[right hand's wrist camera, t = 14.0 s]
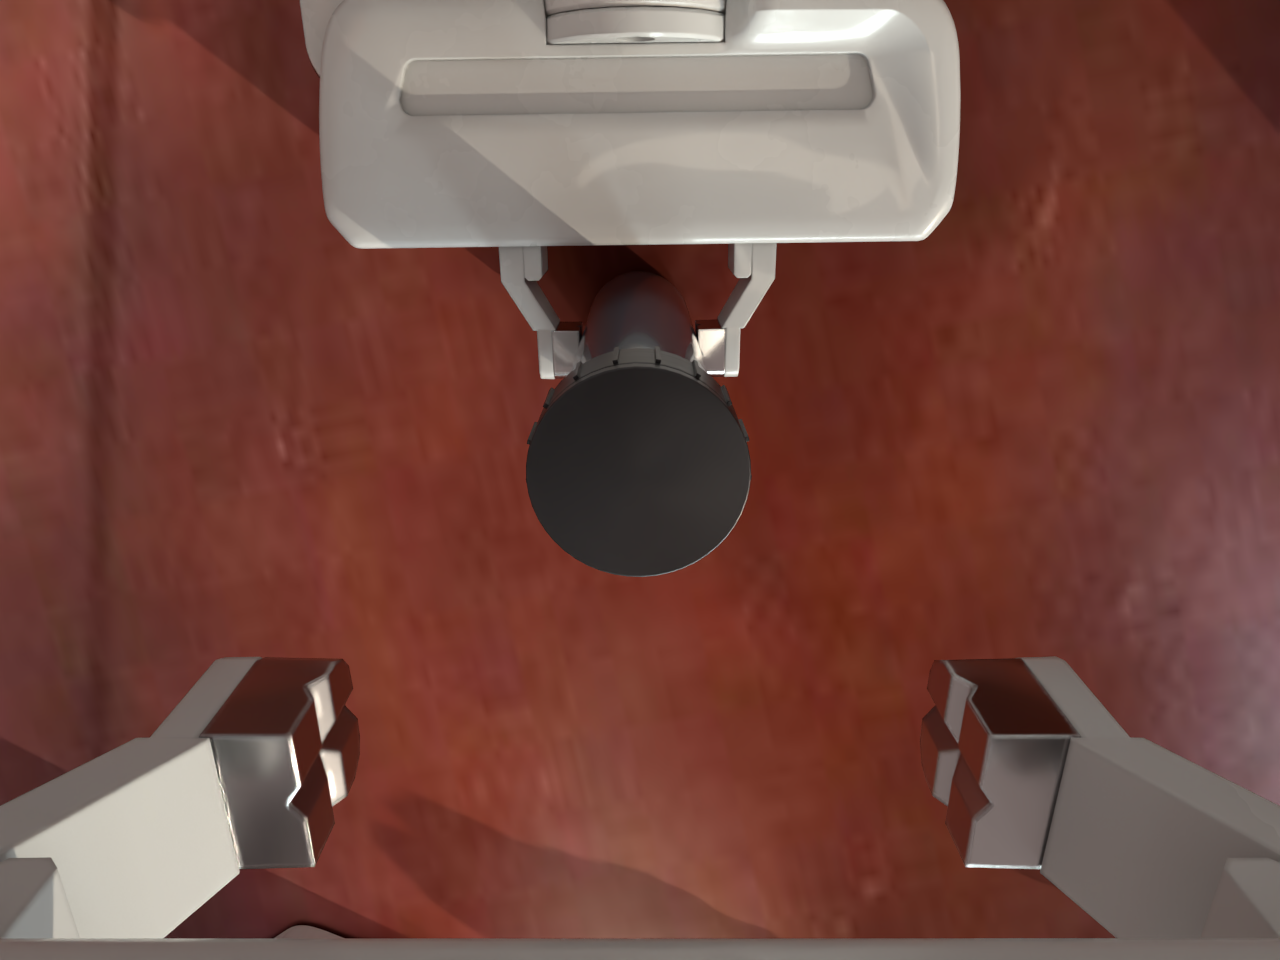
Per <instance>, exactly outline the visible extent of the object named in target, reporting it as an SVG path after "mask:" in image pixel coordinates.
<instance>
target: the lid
mask: <svg viewBox="0 0 1280 960" xmlns="http://www.w3.org/2000/svg"><path fill="white" fill-rule="evenodd" d="M543 407H544V408H543V411H542V413H541V415H540V418H539V420H538V422H535V423H534V425H533V428H532V431H531V433H530V436H529V438H528V441H527V444H530V446H529V450H528V455H527V463H526V483H527V487H528V493H529V497H530V500H531V503H532V507H533V509H534V511H535V513H536V515H537V518H538V520H539V521H540V523H541V524H542V526H543V527H544V529H545V531H546V532H547V533H548V534H549V535H550V537H551V538H552V539H553V540H554V541H555V542H556V543H557V544H558V545H559V546H560V547H561V548H562V549H563V550H564V551H566V552H567V553H568V554H570V555H571V556H573V557H574V558H575V559H577V560H579V561H581V562H582V563H584V564H586V565H588V566H590V567H593V568H595V569H598V570H600V571H604V572H608V573H611V574H616V575H622V576H634V577H645V576H656V575H661V574H666V573H670V572H673V571H676V570H679V569H682V568H684V567H687V566H689V565H691V564H693V563H695V562H697V561H698V560H700V559H701V558H703V557H705V556H706V555H708V554H709V553H710V552H711V551H712V550H714V549H715V548H716V547H717V546H718V545H719V544H720V543H721V542H722V541H723V540H724V539H725V538H726V537H727V536H728V534H729V533H730V532H731V530H732V529H733V528H734V526H735V525H736V523H737V521H738V519H739V517H740V516H741V514H742V511H743V509H744V506H745V504H746V501H747V497H748V493H749V488H750V480H751V464H750V455H749V450H748V445H747V443H746V442H747V441H749V437H748V435H747V432H746V429H745V427H744V424H743V422H742V419H740V420H738V418H737V415H736V412H735V410H734V408H733V406H732V402H731V400H730V397H729V394H728V391H727V389H726V387H725V386H724V385H723V386H722V387H721V386H720V385H719V384H718V383H717V382H716V381H715V380H714V379H713V378H712V377H711V376H710V375H709V374H708V373H707V372H705V371H704V370H703V369H702V368H700V367H699V365H698V362H697V361H696V360H693V361H692V362H691V361H689V360H687V359H685V358H682V357H680V356H678V355H675V354H672V353H669V352H666V351H661V350H660V347H658V346H655V349H649V348H630V349H621V350H619V347H614V351H612V352H608V353H605V354H602V355H599V356H597V357H594V358H592V359H590V360H588V361H587V362H585V363H582V362H581V361H580V362H578V363H577V365H576V369H574V370H573V371H571V372H570V373H569V374H568V375H567V376H566V377H565V378H564V379H563V380H562V381H561V382H560V383H559V384H558V386H557V387H556V388H555V389H553V388H551V389H550V390H549V392H548V395H547V397H546V400H545V403H544V405H543Z"/></svg>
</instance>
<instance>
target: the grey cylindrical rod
mask: <svg viewBox="0 0 1280 960" xmlns="http://www.w3.org/2000/svg"><path fill="white" fill-rule="evenodd" d="M655 346H658V347H660V350H661V351H666V352H669V353H672V354H675V355H678V356H680V357H682V358H685V359H687V360H689V361H691V362H692V361H693V360H696V361H697V362H698V365H699V367H700V368H702V369H703V370H704V371H705V372H707V370H706V367H705V363H704V360H703V357H702V354H701V351H700V347H699V344H698V341H697V338H696V334H695V331H694V328H693V325H692V322H691V318H690V315H689V312H688V309H687V306H686V303H685V301H684V299H683V297H682V295H681V293H680V292H679V291H678V289H677V288H676V287H675V286H674V285H673V284H672V283H671V282H669V281H668V280H666V279H665V278H663V277H661V276H659V275H657V274H654V273H650V272H644V271H635V272H628V273H624V274H622V275H619V276H617V277H615V278H613V279H612V280H610V281H609V282H608V283H606V284H605V285H604V286H603V287H602V289H601V290H600V291H599V292H598V294H597V296H596V297H595V299H594V301H593V304H592V307H591V310H590V313H589V316H588V319H587V322H586V325H585V328H584V331H583V335H582V338H581V341H580V344H579V347H578V350H577V353H576V356H575V360H574V363H573V366H572V369H571V371H573V370H574V369H576V365H577V363H578V362H580V361H581V362H582V363H585V362H587V361H588V360H590V359H592V358H594V357H597V356H599V355H602V354H605V353H608V352H612V351H614V347H619V350H621V349H630V348H649V349H655Z"/></svg>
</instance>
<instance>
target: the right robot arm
mask: <svg viewBox="0 0 1280 960" xmlns="http://www.w3.org/2000/svg"><path fill="white" fill-rule="evenodd" d="M352 690H353V685H352V680H351V675H350V669H349V665H348V664H347V663H346V662H345V661H344V660H343V659H324V658H275V657H265V658H261V657H225V658H221V659H218V660H215V661H214V662H213V664H212V665H211V666H210V667H209V668H208V669H207V671H206V672H205V673H204V674H203V675H202V677H201V678H200V679H199V680H198V681H197V682H196V684H195V685H194V686H193V687H192V688H191V689H190V691H189V692H188V693H187V694H186V695H185V697H184V698H183V699H182V700H181V701H180V702H179V704H178V705H177V706H176V707H175V708H174V710H173V711H172V712H171V713H170V714H169V715H168V717H167V718H166V719H165V720H164V721H163V722H162V724H161V725H160V726H159V727H158V728H157V730H156V731H155V732H154V733H153V734H152V735H151V737H150V738H135V739H133V740H131V741H129V742H127V743H125V744H123V745H121V746H119V747H117V748H115V749H113V750H111V751H109V752H107V753H105V754H103V755H101V756H99V757H97V758H95V759H93V760H91V761H89V762H87V763H85V764H83V765H81V766H79V767H77V768H75V769H73V770H71V771H69V772H67V773H65V774H63V775H61V776H59V777H57V778H55V779H53V780H51V781H49V782H47V783H45V784H43V785H41V786H39V787H37V788H35V789H33V790H31V791H29V792H27V793H25V794H23V795H21V796H19V797H17V798H15V799H13V800H11V801H9V802H7V803H5V804H3V805H1V806H0V960H1280V806H1278V805H1276V804H1274V803H1272V802H1270V801H1268V800H1266V799H1264V798H1262V797H1260V796H1258V795H1257V794H1255V793H1253V792H1251V791H1249V790H1247V789H1245V788H1243V787H1241V786H1239V785H1237V784H1235V783H1233V782H1231V781H1229V780H1227V779H1225V778H1223V777H1221V776H1219V775H1217V774H1215V773H1213V772H1211V771H1209V770H1207V769H1205V768H1203V767H1201V766H1199V765H1197V764H1195V763H1193V762H1191V761H1189V760H1187V759H1185V758H1183V757H1181V756H1179V755H1177V754H1175V753H1173V752H1171V751H1169V750H1167V749H1165V748H1163V747H1161V746H1159V745H1157V744H1155V743H1153V742H1151V741H1149V740H1147V739H1145V738H1130V737H1129V735H1128V734H1127V733H1126V732H1125V731H1124V730H1123V728H1122V727H1121V726H1120V725H1119V724H1118V723H1117V721H1116V720H1115V719H1114V718H1113V717H1112V715H1111V714H1110V713H1109V712H1108V711H1107V710H1106V708H1105V707H1104V706H1103V705H1102V704H1101V703H1100V701H1099V700H1098V699H1097V698H1096V697H1095V695H1094V694H1093V693H1092V692H1091V691H1090V690H1089V688H1088V687H1087V686H1086V685H1085V684H1084V683H1083V681H1082V680H1081V679H1080V678H1079V677H1078V675H1077V674H1076V673H1075V672H1074V671H1073V670H1072V668H1071V667H1070V666H1069V665H1068V664H1067V663H1066V661H1064V660H1062V659H1060V658H1058V657H1056V656H1055V657H1027V658H1012V659H965V660H934V662H933V665H932V667H931V669H930V673H929V679H928V685H927V690H928V692H929V694H930V695H931V697H932V699H933V701H934V703H935V706H934V707H933V708H932V709H931V710H930V711H929V712H928V713H927V714H926V715H925V716H924V718H923V719H922V727H921V736H920V749H921V763H922V767H923V771H924V775H925V779H926V782H927V784H928V786H929V788H930V791H931V793H932V795H933V796H934V797H935V798H937V799H938V800H939V801H941V802H942V803H944V804H945V805H946V806H948V809H947V815H946V821H945V824H946V826H947V828H948V830H949V833H950V835H951V837H952V839H953V841H954V843H955V845H956V848H957V850H958V852H959V854H960V856H961V858H962V860H963V863H964V865H965V867H982V868H1018V869H1041V870H1040V873H1041V874H1042V875H1043V876H1045V877H1046V878H1047V879H1048V880H1049V881H1050V882H1052V883H1053V884H1054V885H1055V886H1056V887H1057V888H1059V889H1060V890H1061V891H1062V892H1063V893H1065V894H1066V895H1067V896H1068V897H1069V898H1070V899H1072V900H1073V901H1074V902H1075V903H1076V904H1077V905H1079V906H1080V907H1081V908H1082V909H1083V910H1084V911H1086V912H1087V913H1088V914H1089V915H1090V916H1091V917H1093V918H1094V919H1095V920H1096V921H1097V922H1098V923H1100V924H1101V925H1102V926H1103V927H1104V928H1105V929H1107V930H1108V931H1109V932H1110V933H1111V934H1112V935H1114V936H1115V937H1116V938H892V939H544V938H342V937H340V936H338V935H335V934H333V933H330V932H328V931H325V930H322V929H319V928H316V927H312V926H307V925H297V926H293V927H291V928H289V929H287V930H285V931H284V932H282V933H281V934H279V935H278V936H276V937H275V938H164V937H165V936H167V935H168V934H169V933H170V932H171V931H172V930H174V929H175V928H176V927H177V926H178V925H180V924H181V923H182V922H183V921H184V920H185V919H187V918H188V917H189V916H190V915H191V914H192V913H194V912H195V911H196V910H197V909H198V908H199V907H201V906H202V905H203V904H204V903H205V902H206V901H208V900H209V899H210V898H211V897H212V896H214V895H215V894H216V893H217V892H218V891H219V890H221V889H222V888H223V887H224V886H225V885H226V884H228V883H229V882H230V881H231V880H232V879H233V878H235V877H236V876H237V875H238V874H239V873H240V871H239V869H261V868H296V867H315V865H316V863H317V861H318V858H319V856H320V854H321V852H322V850H323V848H324V846H325V843H326V841H327V839H328V837H329V835H330V833H331V830H332V828H333V826H334V824H335V821H334V815H333V809H332V806H334V805H335V804H336V803H338V802H339V801H341V800H342V799H343V798H345V797H346V796H347V795H348V793H349V791H350V788H351V786H352V784H353V781H354V779H355V775H356V770H357V765H358V760H359V755H360V733H359V726H358V719H357V718H356V716H355V715H354V714H353V713H352V712H351V711H350V710H349V709H348V708H347V707H346V706H345V703H346V701H347V699H348V697H349V695H350V694H351V692H352Z"/></svg>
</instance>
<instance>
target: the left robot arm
mask: <svg viewBox="0 0 1280 960" xmlns="http://www.w3.org/2000/svg"><path fill="white" fill-rule="evenodd" d="M300 7H301V14H302V21H303V29H304V36H305V43H306V50H307V53H308V56H309V59H310V62H311V65H312V67H313V69H314V70H315V72H316V74H317V75H318V77H319V78H320V93H319V139H320V160H321V176H322V188H323V198H324V206H325V211H326V215H327V217H328V219H329V221H330V222H331V224H332V225H333V226H334V227H335V228H336V229H337V230H338V231H339V233H340V234H341V235H342V236H343V237H344V238H345V239H346V240H347V241H348V242H349V243H350V244H351V245H352V246H354V247H356V248H439V247H499V258H500V272H501V282H502V284H503V285H504V287H505V288H506V290H507V291H508V293H509V294H510V296H511V297H512V299H513V300H514V302H515V304H516V305H517V307H518V308H519V310H520V311H521V313H522V314H523V316H524V317H525V319H526V320H527V322H528V323H529V325H530V326H531V328H532V329H533V331H537V338H538V355H539V372H540V377H541V379H561V378H565V377H566V376H567V375H568V374H569V373H570V372H571V369H572V366H573V363H574V360H575V356H576V353H577V350H578V347H579V344H580V341H581V338H582V335H583V328H582V322H560V319H559V318H558V316H557V314H556V313H555V311H554V309H553V308H552V306H551V305H550V303H549V301H548V300H547V298H546V296H545V295H544V293H543V291H542V290H541V288H540V286H539V285H538V283H537V281H539V280H540V279H541V277H542V276H543V275H544V274H545V273H546V272H547V270H548V253H547V246H585V245H658V244H728V268H729V269H730V270H731V271H732V273H733V274H734V275H735V276H736V277H737V278H740V279H739V281H738V283H737V285H736V286H735V288H734V290H733V291H732V293H731V295H730V297H729V298H728V300H727V302H726V304H725V305H724V307H723V309H722V311H721V312H720V314H719V316H718V318H717V319H716V320H695V334H696V338H697V341H698V344H699V347H700V351H701V354H702V357H703V360H704V363H705V367H706V370H707V373H708V374H709V375H710V376H711V377H735V376H738V372H739V356H740V328H744V327H745V326H746V324H747V322H748V321H749V319H750V318H751V316H752V314H753V313H754V311H755V309H756V308H757V306H758V305H759V303H760V301H761V300H762V298H763V297H764V295H765V293H766V292H767V290H768V289H769V287H770V285H771V284H772V282H773V281H774V279H775V264H776V244H777V243H804V242H877V241H920V240H923V239H925V238H927V237H928V236H929V235H930V234H931V233H932V232H933V230H934V229H935V228H936V227H937V226H938V225H939V223H940V222H941V221H942V220H943V218H944V217H945V216H946V215H947V213H948V212H949V211H950V208H951V206H952V203H953V199H954V193H955V186H956V177H957V167H958V153H959V135H960V58H959V45H958V39H957V33H956V29H955V25H954V21H953V18H952V16H951V13H950V11H949V9H948V7H947V5H946V4H945V2H944V1H943V0H300Z"/></svg>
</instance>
